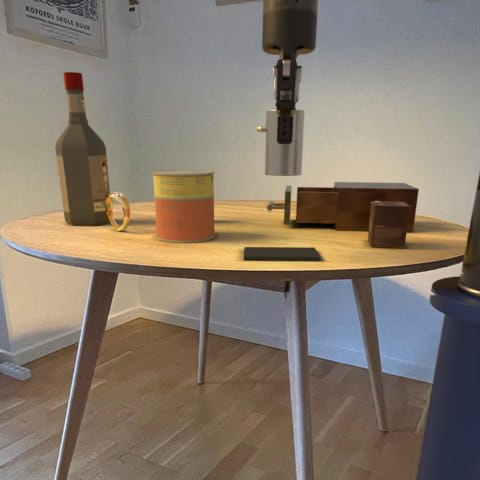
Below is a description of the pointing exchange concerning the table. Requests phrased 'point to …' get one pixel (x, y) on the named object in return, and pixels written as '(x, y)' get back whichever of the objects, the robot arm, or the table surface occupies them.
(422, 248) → the table surface
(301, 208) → the drawer
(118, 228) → the ring
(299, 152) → the measuring cup
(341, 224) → the cabinet
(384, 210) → the box
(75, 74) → the liquor
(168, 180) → the canned food
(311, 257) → the trivet
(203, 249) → the table surface
